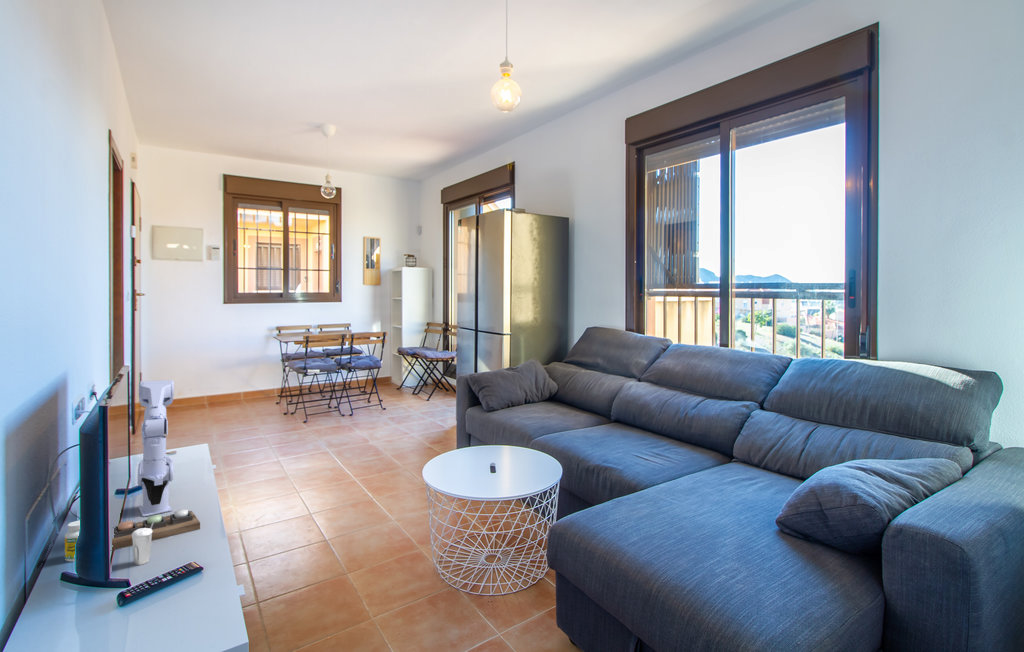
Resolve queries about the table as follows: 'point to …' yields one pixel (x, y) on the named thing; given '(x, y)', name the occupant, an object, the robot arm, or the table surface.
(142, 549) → the milkshake
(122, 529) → the terracotta button
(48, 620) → the table surface
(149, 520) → the sage button
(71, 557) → the supplement bottle
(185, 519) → the button board
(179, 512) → the grey button
